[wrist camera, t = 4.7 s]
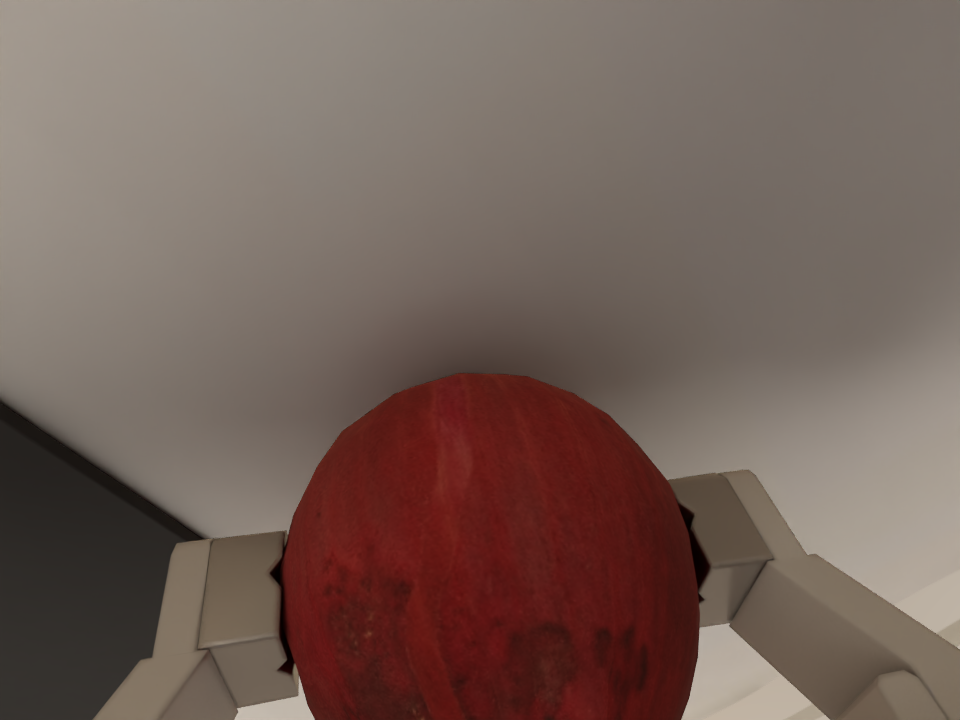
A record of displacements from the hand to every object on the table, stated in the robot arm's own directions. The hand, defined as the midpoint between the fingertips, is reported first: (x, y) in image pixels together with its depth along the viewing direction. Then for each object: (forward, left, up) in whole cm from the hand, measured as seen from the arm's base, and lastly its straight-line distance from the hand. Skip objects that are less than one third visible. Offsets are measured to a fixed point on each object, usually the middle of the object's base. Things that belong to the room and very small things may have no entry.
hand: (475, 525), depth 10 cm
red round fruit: (0, 0, -3) cm, 3 cm away
